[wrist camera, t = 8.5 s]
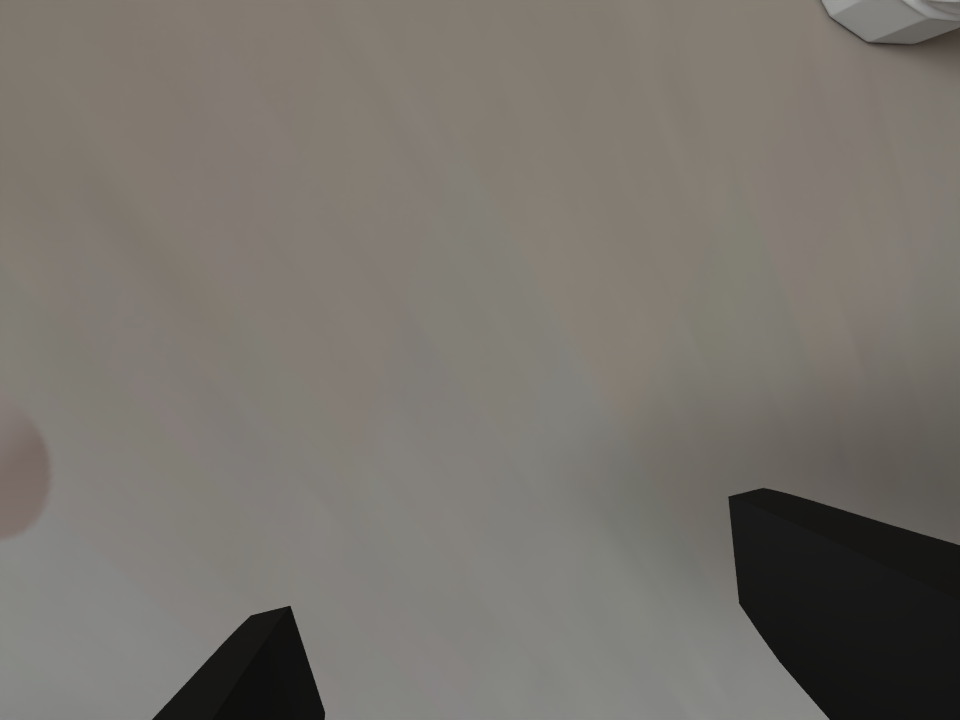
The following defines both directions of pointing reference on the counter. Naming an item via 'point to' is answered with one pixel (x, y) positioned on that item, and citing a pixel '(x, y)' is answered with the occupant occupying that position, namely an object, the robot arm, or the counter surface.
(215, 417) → the counter surface
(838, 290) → the counter surface
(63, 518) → the counter surface
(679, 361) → the counter surface
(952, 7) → the white cup
